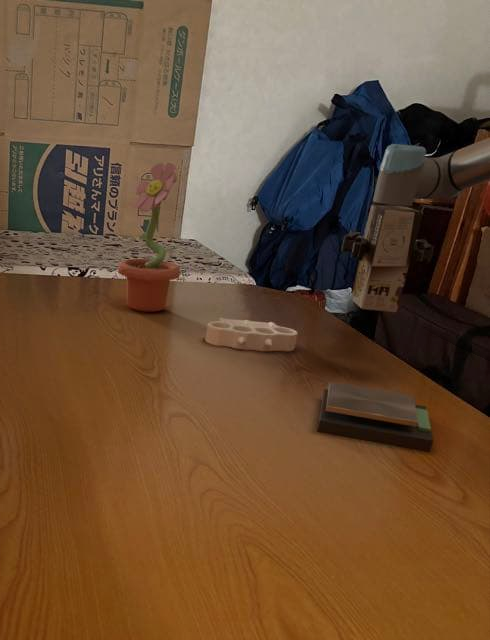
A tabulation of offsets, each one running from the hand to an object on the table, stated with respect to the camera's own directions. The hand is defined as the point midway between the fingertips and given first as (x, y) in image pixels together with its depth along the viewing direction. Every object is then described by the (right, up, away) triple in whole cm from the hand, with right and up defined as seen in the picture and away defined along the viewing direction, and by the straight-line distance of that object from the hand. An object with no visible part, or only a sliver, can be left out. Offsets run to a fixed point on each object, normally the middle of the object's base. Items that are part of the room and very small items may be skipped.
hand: (387, 255), depth 128 cm
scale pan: (-6, -27, -9) cm, 29 cm away
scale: (-6, -29, -8) cm, 31 cm away
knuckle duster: (-17, -7, +29) cm, 34 cm away
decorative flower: (-37, +6, +48) cm, 61 cm away
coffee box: (+1, -6, +9) cm, 11 cm away
